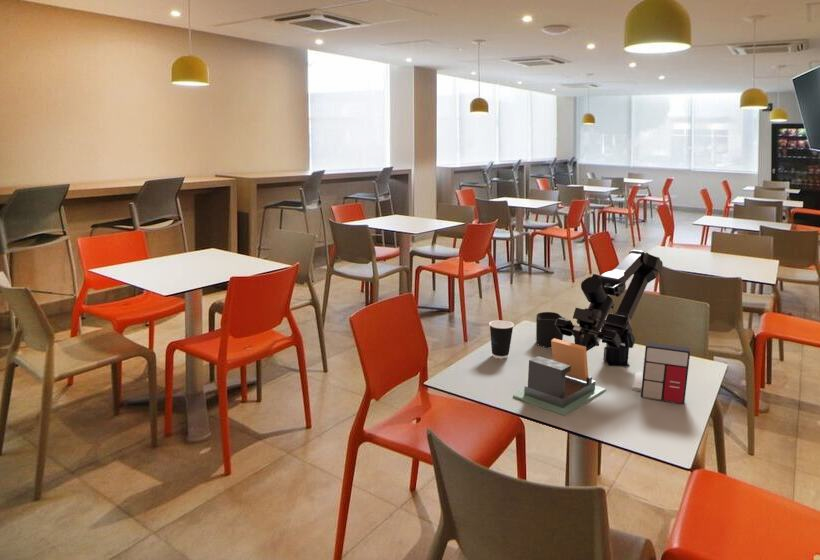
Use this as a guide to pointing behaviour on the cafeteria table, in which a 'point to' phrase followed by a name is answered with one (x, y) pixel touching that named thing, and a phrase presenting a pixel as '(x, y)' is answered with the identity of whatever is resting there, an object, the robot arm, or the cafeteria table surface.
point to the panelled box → (665, 372)
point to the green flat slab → (557, 409)
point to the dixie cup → (500, 338)
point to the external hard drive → (637, 381)
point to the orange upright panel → (571, 358)
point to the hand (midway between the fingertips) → (575, 357)
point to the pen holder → (547, 328)
